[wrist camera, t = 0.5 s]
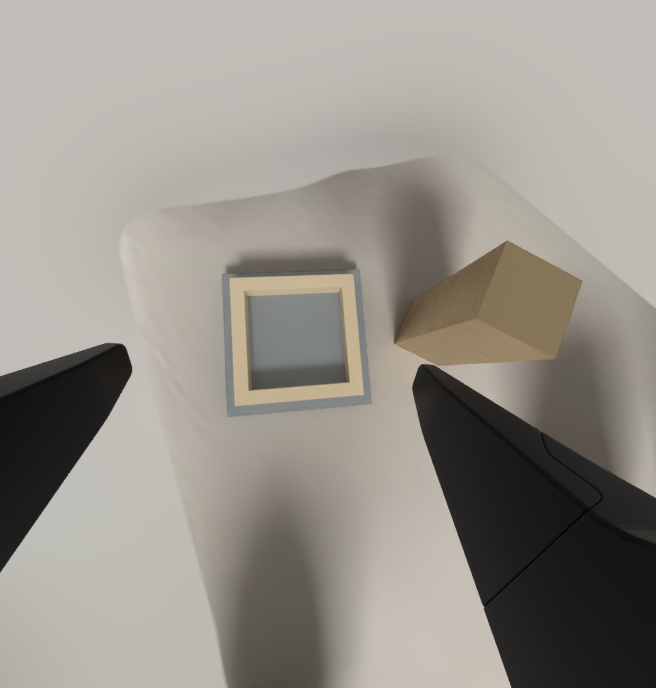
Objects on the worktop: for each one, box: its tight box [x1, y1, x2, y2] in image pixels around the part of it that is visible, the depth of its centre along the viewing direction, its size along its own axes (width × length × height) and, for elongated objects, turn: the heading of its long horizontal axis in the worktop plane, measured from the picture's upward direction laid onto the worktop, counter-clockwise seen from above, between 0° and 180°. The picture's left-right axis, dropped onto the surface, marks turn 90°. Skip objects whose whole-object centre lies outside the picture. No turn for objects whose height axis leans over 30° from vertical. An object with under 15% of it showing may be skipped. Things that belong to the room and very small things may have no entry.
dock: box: [222, 270, 371, 417], centre depth 22 cm, size 11×11×2 cm
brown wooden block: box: [394, 241, 582, 366], centre depth 19 cm, size 4×4×11 cm
